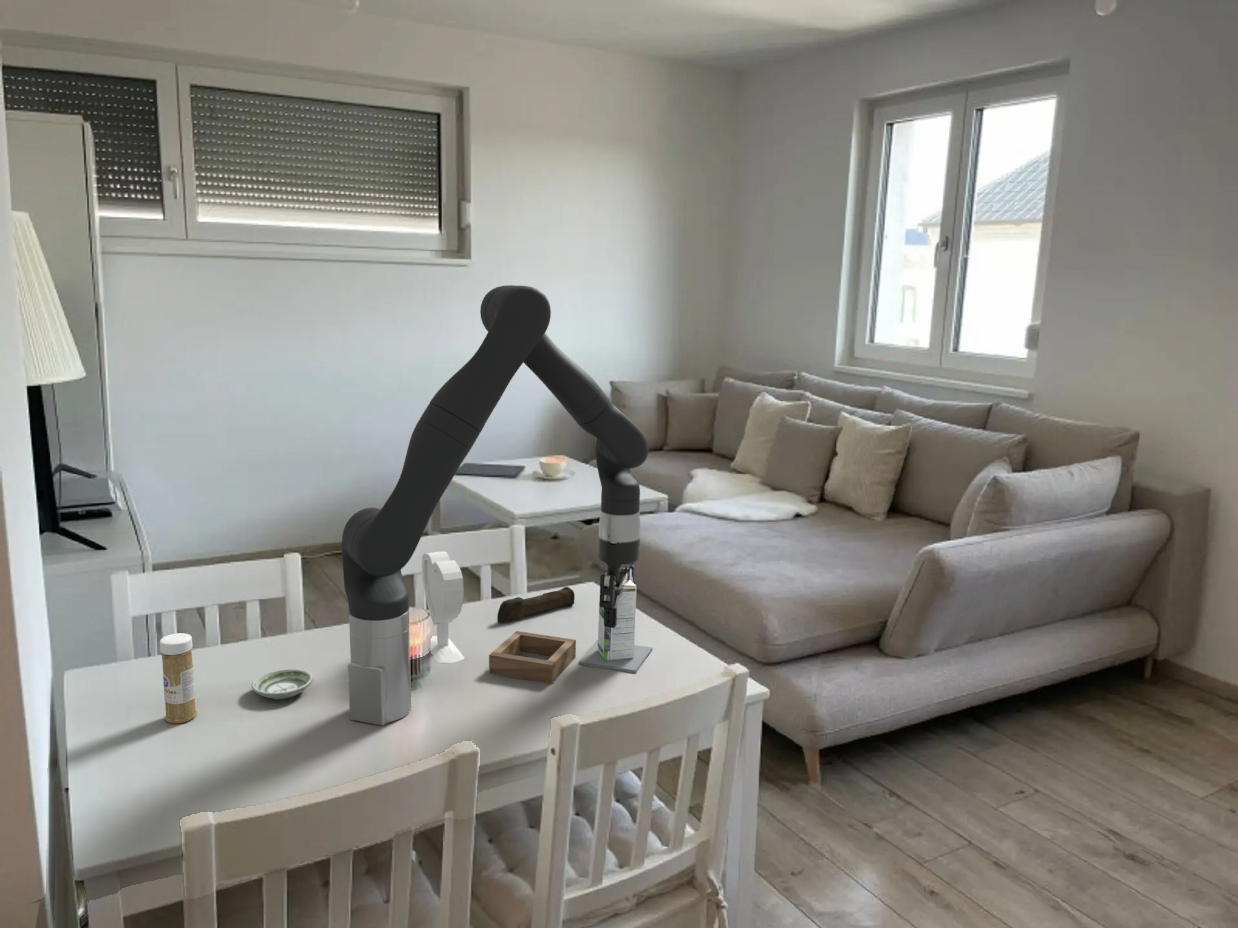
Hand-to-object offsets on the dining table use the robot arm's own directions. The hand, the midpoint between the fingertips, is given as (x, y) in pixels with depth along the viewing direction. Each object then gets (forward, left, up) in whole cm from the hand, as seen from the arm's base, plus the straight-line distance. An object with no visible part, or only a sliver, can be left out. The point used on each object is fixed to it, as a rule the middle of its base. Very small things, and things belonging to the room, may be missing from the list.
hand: (617, 618), depth 171 cm
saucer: (-34, +48, -8) cm, 59 cm away
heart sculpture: (-8, +32, -8) cm, 34 cm away
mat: (0, 0, -8) cm, 8 cm away
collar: (-9, +13, -8) cm, 18 cm away
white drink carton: (0, 0, -7) cm, 7 cm away
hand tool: (+15, +22, -8) cm, 28 cm away
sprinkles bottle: (-47, +57, -8) cm, 74 cm away
